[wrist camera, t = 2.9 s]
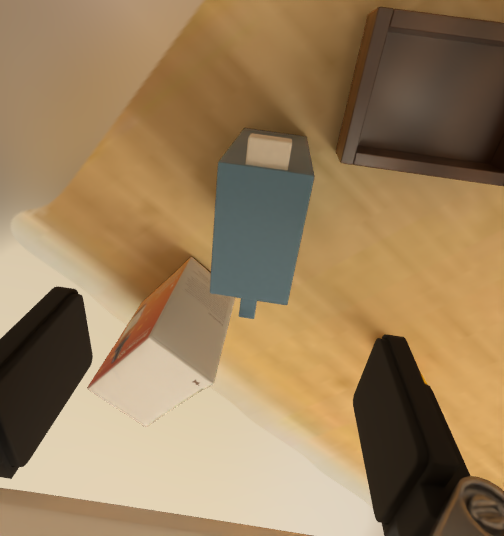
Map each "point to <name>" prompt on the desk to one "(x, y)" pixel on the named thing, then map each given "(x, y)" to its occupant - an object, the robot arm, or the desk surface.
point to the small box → (167, 347)
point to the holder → (427, 97)
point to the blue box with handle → (260, 217)
